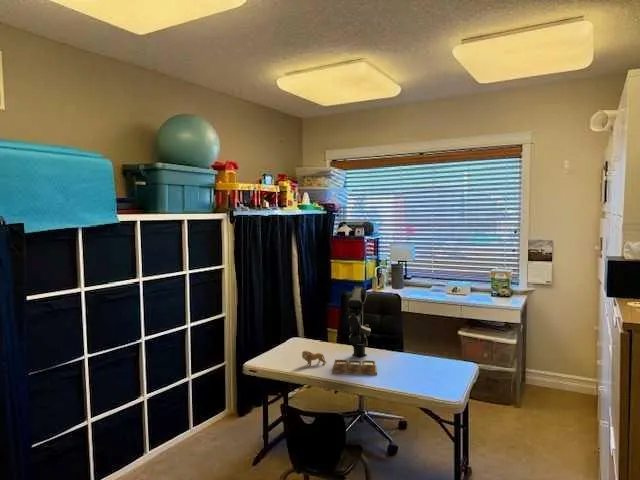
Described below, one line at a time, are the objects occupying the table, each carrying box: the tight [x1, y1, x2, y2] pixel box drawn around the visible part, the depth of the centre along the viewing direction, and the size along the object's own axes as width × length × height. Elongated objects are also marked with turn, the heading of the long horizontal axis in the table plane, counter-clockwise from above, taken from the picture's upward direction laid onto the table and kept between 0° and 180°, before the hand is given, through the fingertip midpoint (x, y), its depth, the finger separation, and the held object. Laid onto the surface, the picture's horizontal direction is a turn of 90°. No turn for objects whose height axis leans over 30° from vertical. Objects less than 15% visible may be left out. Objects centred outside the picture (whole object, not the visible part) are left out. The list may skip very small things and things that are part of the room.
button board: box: [331, 359, 378, 376], centre depth 242 cm, size 24×10×5 cm, turn 84°
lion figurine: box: [301, 350, 327, 367], centre depth 251 cm, size 15×5×9 cm, turn 111°
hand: (355, 349), depth 245 cm, fingers closed
